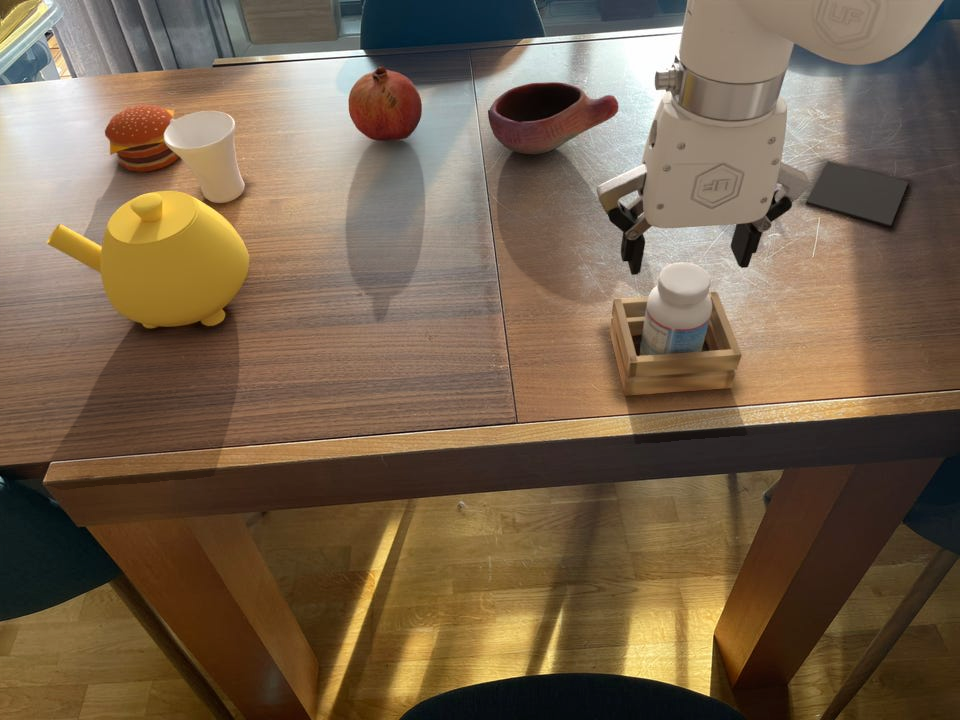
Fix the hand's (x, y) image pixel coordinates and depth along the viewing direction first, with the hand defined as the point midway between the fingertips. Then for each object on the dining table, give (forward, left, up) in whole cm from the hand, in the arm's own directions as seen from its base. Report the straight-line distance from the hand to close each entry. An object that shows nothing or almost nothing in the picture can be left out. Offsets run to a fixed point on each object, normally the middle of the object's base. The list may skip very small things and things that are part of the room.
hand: (685, 261), depth 66 cm
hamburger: (+79, -1, -13) cm, 80 cm away
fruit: (+51, -21, -13) cm, 57 cm away
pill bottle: (0, 0, -13) cm, 13 cm away
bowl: (+30, -30, -13) cm, 44 cm away
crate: (0, 0, -13) cm, 13 cm away
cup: (+63, +1, -13) cm, 64 cm away
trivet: (-10, -38, -13) cm, 41 cm away
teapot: (+53, +19, -13) cm, 58 cm away
